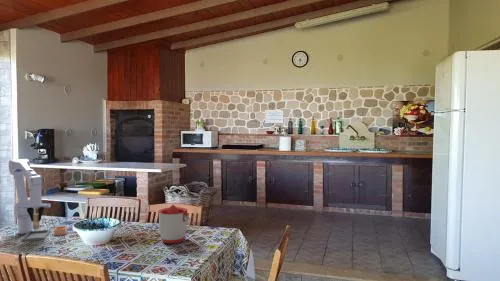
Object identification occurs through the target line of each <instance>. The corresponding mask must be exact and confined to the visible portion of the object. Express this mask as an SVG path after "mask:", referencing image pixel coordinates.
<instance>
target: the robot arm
mask: <svg viewBox="0 0 500 281" xmlns="http://www.w3.org/2000/svg"><path fill="white" fill-rule="evenodd" d="M30 163H31V162H30V159H28V158H21V159H20V158H19V159H10V160H9V161H8V170H9V171H8V172H9V174H10V175H12V176H13V179H14V183H15V184H14V185H15V190H16V195H17V199H18V201H17V202H16V204H15V205H13V206H14V207H13V210H14V211H13V212H14V214H13V215H14V217H15V218H17V230H18V231H17V232H16V233H15V235H20V234H21V235H23V234H27V233H28V232H29V231H35V229H33V214H36V210H37V214H39V222H41V220H42V215H43V213H44V210H45V208H51V207H52V206H51V205H52V204H51V203H43V202H42V186H43V184H44V179H43V176H42V175H41V174H38V173H37V172H36V171H35V169H33V168H31V167H30V165H31V164H30ZM24 177H25V178H24ZM25 179H26V181H27V186H28V190H29V198H28V194H27V193H28V192H27V188H26V183H25Z"/></svg>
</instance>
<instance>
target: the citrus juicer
mask: <svg viewBox="0 0 500 281" xmlns="http://www.w3.org/2000/svg"><path fill="white" fill-rule="evenodd" d="M157 212H158V231H159V236H160V239H161V241H162V242H163V243H165V244H179V243H182V242H183V241H185V238H186V234H187V229H188V222H190V221H191V217H190V216H188V209H187V208H185V207H177V206H175V205H174V204H172V205H171V206H170V207H165V208H161V209H159V210H158V211H157Z"/></svg>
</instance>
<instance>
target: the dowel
mask: <svg viewBox="0 0 500 281" xmlns="http://www.w3.org/2000/svg"><path fill="white" fill-rule="evenodd" d="M33 229H34V230H38V229H40V221H39V213H35V214H33Z"/></svg>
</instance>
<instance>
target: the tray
mask: <svg viewBox="0 0 500 281" xmlns="http://www.w3.org/2000/svg"><path fill="white" fill-rule="evenodd" d="M50 233H51V229H40V230H33V231H29V232H28V233H25V235H24V236H23V237H22V238H21V239H20V241H21V242H22V243H23V242H32V241H33V242H35V241H44V240H45V239H46V238H47V237H48V236H49V235H50Z"/></svg>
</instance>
